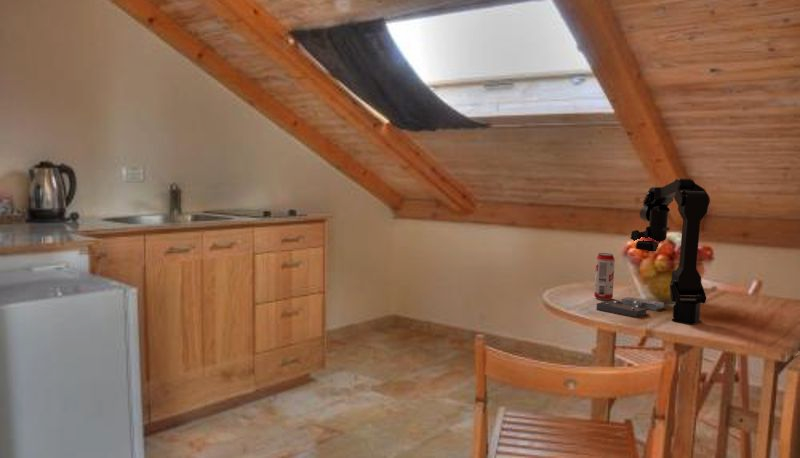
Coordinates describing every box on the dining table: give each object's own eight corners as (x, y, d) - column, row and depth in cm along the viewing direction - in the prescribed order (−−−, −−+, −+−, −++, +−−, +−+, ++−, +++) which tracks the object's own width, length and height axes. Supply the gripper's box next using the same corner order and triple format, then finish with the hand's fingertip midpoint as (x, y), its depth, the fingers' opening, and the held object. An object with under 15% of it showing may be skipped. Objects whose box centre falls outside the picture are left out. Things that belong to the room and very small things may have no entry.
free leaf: (663, 308, 213) (663, 301, 213) (653, 311, 207) (653, 304, 207) (628, 302, 221) (629, 295, 221) (617, 305, 215) (618, 298, 215)
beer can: (592, 299, 225) (594, 254, 223) (596, 296, 230) (598, 252, 229) (610, 301, 222) (613, 255, 220) (614, 298, 227) (616, 253, 226)
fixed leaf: (649, 313, 203) (650, 306, 203) (636, 317, 198) (637, 310, 198) (609, 306, 214) (610, 299, 214) (596, 309, 208) (596, 302, 208)
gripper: (649, 221, 230) (646, 263, 231) (622, 223, 217) (619, 268, 219) (679, 223, 221) (676, 267, 223) (653, 226, 209) (651, 273, 210)
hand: (655, 269), depth 219 cm, fingers closed
